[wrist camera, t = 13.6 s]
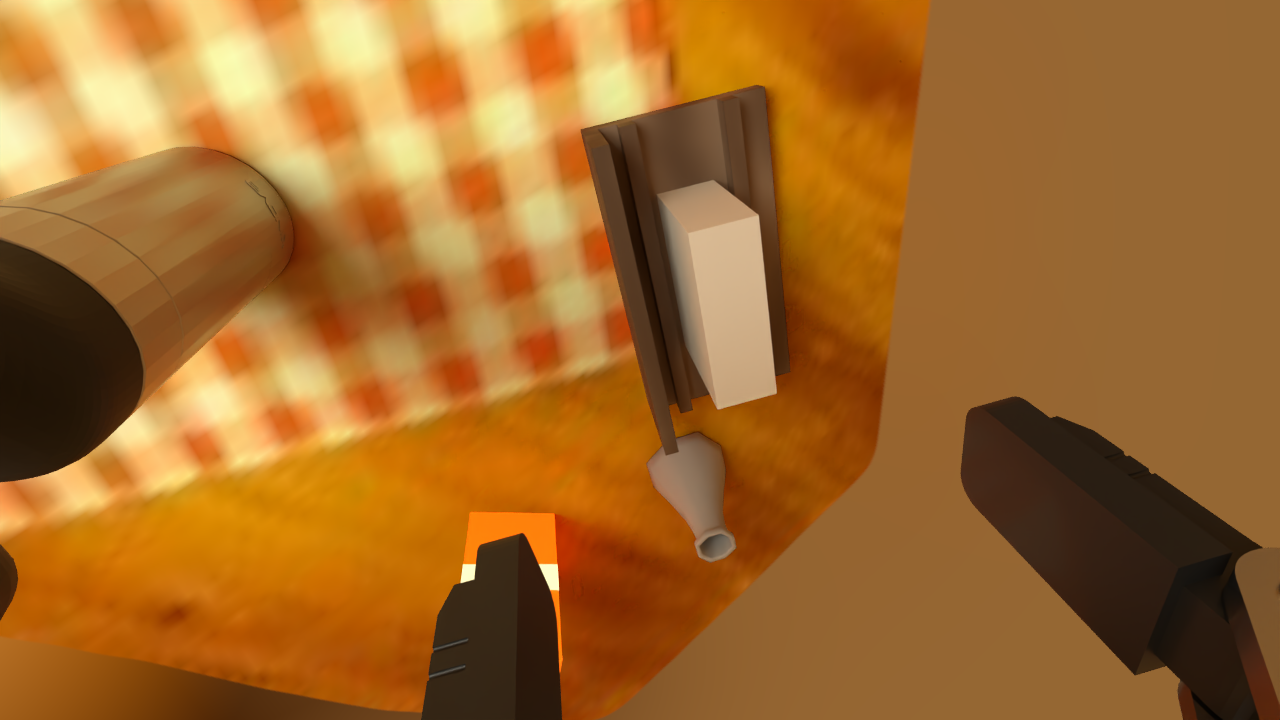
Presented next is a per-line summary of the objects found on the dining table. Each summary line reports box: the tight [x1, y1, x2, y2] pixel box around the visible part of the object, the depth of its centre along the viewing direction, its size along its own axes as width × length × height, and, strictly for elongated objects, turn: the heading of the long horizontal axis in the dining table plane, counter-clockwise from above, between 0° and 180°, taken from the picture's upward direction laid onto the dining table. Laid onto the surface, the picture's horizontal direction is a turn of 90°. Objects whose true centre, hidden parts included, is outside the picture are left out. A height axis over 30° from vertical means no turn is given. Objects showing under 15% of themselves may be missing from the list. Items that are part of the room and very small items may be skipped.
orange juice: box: [461, 512, 563, 670], centre depth 46 cm, size 8×9×20 cm
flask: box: [646, 432, 737, 563], centre depth 49 cm, size 7×7×10 cm
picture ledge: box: [581, 85, 790, 456], centre depth 40 cm, size 12×22×8 cm, turn 12°
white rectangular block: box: [657, 180, 777, 409], centre depth 38 cm, size 12×4×9 cm, turn 12°
